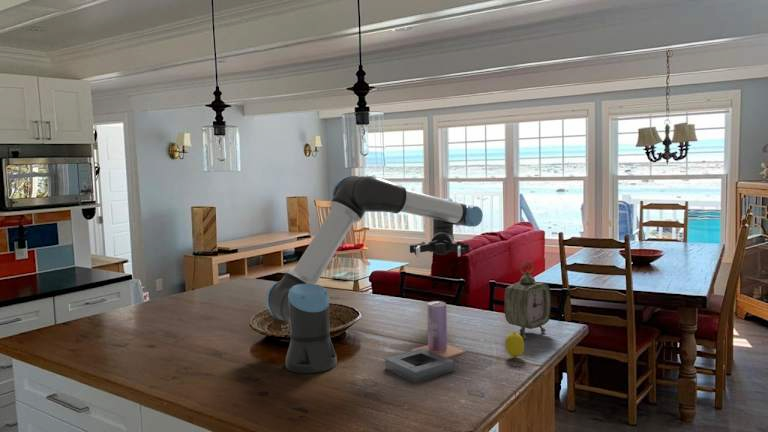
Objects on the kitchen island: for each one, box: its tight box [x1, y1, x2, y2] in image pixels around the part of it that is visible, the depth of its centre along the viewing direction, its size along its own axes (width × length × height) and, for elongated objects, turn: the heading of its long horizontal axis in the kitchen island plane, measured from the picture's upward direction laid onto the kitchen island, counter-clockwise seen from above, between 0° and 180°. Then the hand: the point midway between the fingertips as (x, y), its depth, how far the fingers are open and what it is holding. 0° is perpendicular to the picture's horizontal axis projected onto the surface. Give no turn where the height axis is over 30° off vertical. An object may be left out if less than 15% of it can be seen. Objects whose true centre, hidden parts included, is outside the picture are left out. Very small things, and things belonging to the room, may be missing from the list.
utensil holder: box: [271, 315, 290, 331], centre depth 196 cm, size 6×6×12 cm
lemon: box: [504, 331, 525, 359], centre depth 166 cm, size 6×6×8 cm
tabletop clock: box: [504, 261, 552, 340], centre depth 188 cm, size 14×9×25 cm, turn 129°
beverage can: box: [426, 300, 448, 353], centre depth 173 cm, size 6×6×15 cm
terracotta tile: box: [410, 344, 466, 359], centre depth 174 cm, size 12×12×1 cm
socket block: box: [384, 348, 455, 384], centre depth 159 cm, size 14×14×3 cm
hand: (437, 252), depth 181 cm, fingers open, 13 cm apart
